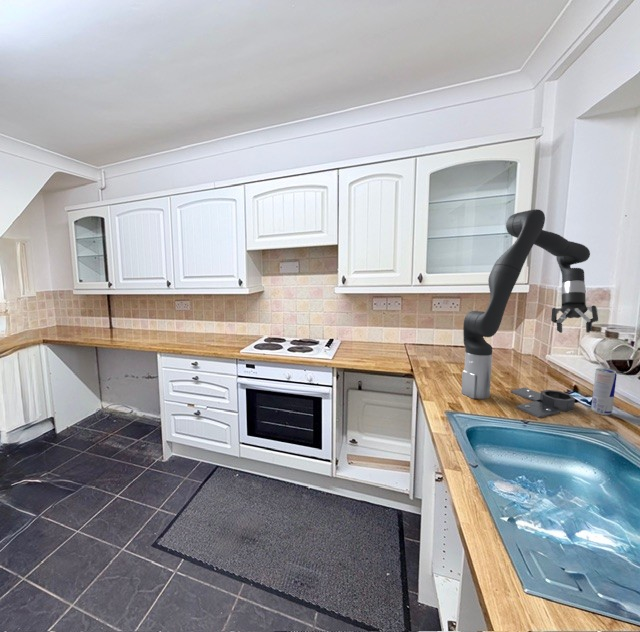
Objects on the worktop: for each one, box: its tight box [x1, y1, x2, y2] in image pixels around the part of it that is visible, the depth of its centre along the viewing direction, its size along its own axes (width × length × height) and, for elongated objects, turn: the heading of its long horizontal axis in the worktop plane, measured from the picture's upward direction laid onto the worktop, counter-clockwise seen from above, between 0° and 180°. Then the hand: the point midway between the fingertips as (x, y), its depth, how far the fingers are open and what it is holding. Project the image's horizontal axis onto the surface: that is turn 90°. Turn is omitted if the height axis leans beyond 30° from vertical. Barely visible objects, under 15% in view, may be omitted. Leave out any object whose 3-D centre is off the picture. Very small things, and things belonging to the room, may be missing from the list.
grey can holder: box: [510, 387, 576, 419], centre depth 108 cm, size 19×19×4 cm
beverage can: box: [590, 367, 617, 416], centre depth 98 cm, size 5×5×15 cm
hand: (573, 332), depth 118 cm, fingers open, 8 cm apart
